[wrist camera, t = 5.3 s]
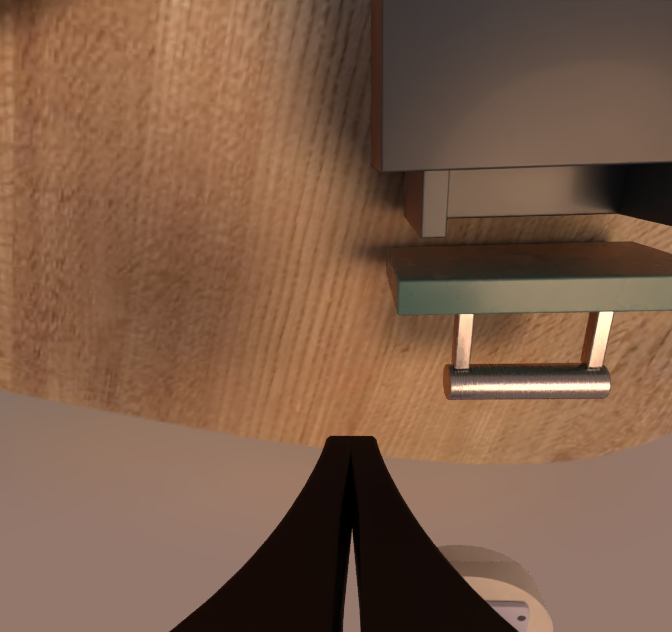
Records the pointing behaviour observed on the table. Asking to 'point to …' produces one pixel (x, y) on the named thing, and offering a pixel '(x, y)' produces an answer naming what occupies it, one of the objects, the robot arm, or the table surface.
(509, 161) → the dark grey storage box
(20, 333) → the table surface
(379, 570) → the robot arm
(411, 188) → the drawer
